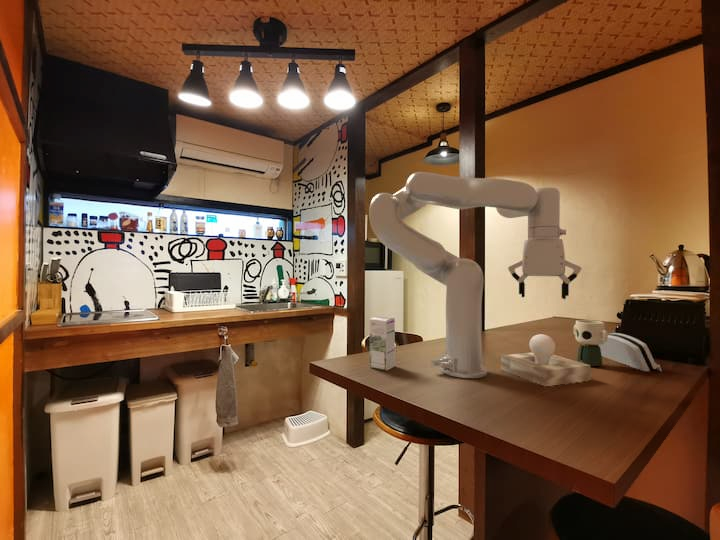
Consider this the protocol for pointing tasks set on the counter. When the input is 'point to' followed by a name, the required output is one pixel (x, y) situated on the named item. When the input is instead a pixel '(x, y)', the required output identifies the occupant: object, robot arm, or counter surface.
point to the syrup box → (382, 343)
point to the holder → (545, 369)
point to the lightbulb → (542, 348)
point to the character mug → (590, 341)
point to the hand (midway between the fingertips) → (542, 297)
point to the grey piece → (628, 352)
